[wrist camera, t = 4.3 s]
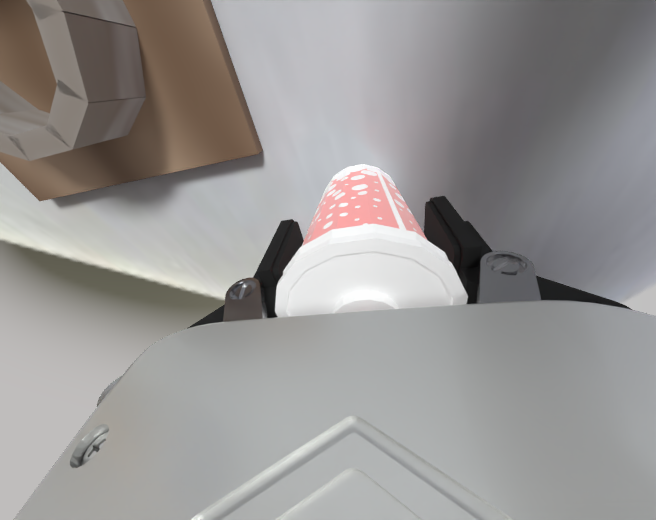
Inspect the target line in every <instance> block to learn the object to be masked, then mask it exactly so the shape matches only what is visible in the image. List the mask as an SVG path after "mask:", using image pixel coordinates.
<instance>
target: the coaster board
mask: <svg viewBox="0 0 656 520" xmlns="http://www.w3.org/2000/svg"><path fill="white" fill-rule="evenodd" d="M261 151H263V149H262V146H261V143H260V141H259V138H258V135H257V132H256V129H255V126H254V123H253V121H252V118H251V115H250V112H249V109H248V106H247V103H246V101H245V98H244V95H243V92H242V89H241V86H240V83H239V81H238V78H237V75H236V72H235V69H234V66H233V63H232V61H231V58H230V55H229V52H228V49H227V46H226V43H225V41H224V38H223V35H222V32H221V29H220V26H219V23H218V21H217V18H216V15H215V12H214V9H213V6H212V3H211V0H0V162H1V163H2V164H3V165H4V166H5V167H6V168H7V169H8V170H9V171H10V172H11V173H12V174H13V175H14V176H15V177H16V178H17V179H18V180H19V181H20V182H21V183H22V184H23V185H24V186H25V187H26V188H27V189H28V190H29V191H30V192H31V193H32V194H33V195H34V196H35V197H36V198H37V199H38V200H39V201H43V200H48V199H52V198H57V197H62V196H66V195H71V194H76V193H80V192H85V191H89V190H94V189H99V188H103V187H108V186H113V185H117V184H122V183H126V182H131V181H136V180H140V179H145V178H150V177H154V176H159V175H163V174H168V173H173V172H177V171H182V170H187V169H191V168H196V167H200V166H205V165H210V164H214V163H219V162H224V161H228V160H233V159H237V158H242V157H247V156H251V155H256V154H259V153H260V152H261Z"/></svg>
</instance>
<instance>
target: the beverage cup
mask: <svg viewBox="0 0 656 520" xmlns="http://www.w3.org/2000/svg"><path fill="white" fill-rule="evenodd" d="M467 299H468V295H467V293H466V291H465V289H464V287H463V285H462V283H461V281H460V279H459V276H458V274H457V272H456V270H455V268H454V266H453V264H452V263H451V262H450V261H449V260H448V258H447V256H446V254H445V252H444V251H442V250H441V249H439V248H438V247H436V246H435V245H434V244H432V243H431V242H429V241H428V240H427V238H426V237H425V235H424V233H423V232H422V230H421V228H420V227H419V225H418V223H417V221H416V220H415V218H414V216H413V215H412V213H411V211H410V210H409V208H408V206H407V204H406V203H405V201H404V199H403V198H402V196H401V194H400V193H399V191H398V189H397V187H396V186H395V184H394V182H393V181H392V179H391V177H390V176H389V175H387V174H386V173H385V172H383V171H382V170H381V169H379V168H378V167H374V166H369V165H364V164H361V165H356V166H351V167H347V168H345V169H344V170H342V171H341V172H339V173H338V174H336V175H335V176H334V177H333V178H332V180H331V181H330V183H329V184H328V186H327V187H326V189H325V192H324V194H323V196H322V199H321V201H320V203H319V206H318V208H317V211H316V213H315V215H314V218H313V220H312V222H311V225H310V227H309V230H308V232H307V234H306V237H305V239H304V242H303V244H302V246H301V247H300V248H299V249H298V251H297V252H296V254H295V255H294V257H293V258H292V259H291V261H290V262H289V264H288V265H287V266H286V268H285V269H284V271H283V276H282V277H281V278H280V280H279V281H278V284H277V287H276V303H275V313H276V315H277V316H278V317H289V316H303V315H317V314H331V313H345V312H359V311H373V310H387V309H402V308H416V307H431V306H446V305H462V304H467Z"/></svg>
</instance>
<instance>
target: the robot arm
mask: <svg viewBox="0 0 656 520" xmlns="http://www.w3.org/2000/svg"><path fill="white" fill-rule="evenodd" d="M424 235H425V237H426V238H427V240H428V241H429V242H431V243H432V244H434V245H435V246H436V247H438V248H439V249H441V250H442V251H444V252H445V254H446V256H447V258H448V260H449V261H450V262H451V263H452V264H453V266H454V268H455V270H456V272H457V274H458V276H459V279H460V281H461V283H462V285H463V287H464V289H465V291H466V293H467V295H468V299H467V304H462V305H446V306H431V307H416V308H402V309H387V310H373V311H359V312H345V313H331V314H317V315H303V316H289V317H278V316H277V315H276V313H275V303H276V287H277V284H278V281H279V280H280V278H281V277H282V276H283V271H284V269H285V268H286V266H287V265H288V264H289V262H290V261H291V259H292V258H293V257H294V255H295V254H296V252H297V251H298V249H299V248H300V247H301V246H302V244H303V242H304V240H303V237H302V234H301V231H300V228H299V225H298V222H294V220H293V219H291V220H285V221H281V223H280V225H279V227H278V229H277V231H276V233H275V235H274V237H273V239H272V241H271V243H270V245H269V247H268V249H267V251H266V253H265V255H264V257H263V259H262V261H261V263H260V265H259V267H258V269H257V271H256V273H255V275H254V277H253V278H246V279H242V280H240V281H238V282H236V283H235V284H233V285H232V286H231V287H230V288H229V289H228V291H227V293H226V297H225V305H223V306H222V307H220V308H218V309H217V310H215V311H214V312H212V313H211V314H209V315H207V316H206V317H204V318H203V319H201V320H200V321H198V322H196V323H195V324H193V325H192V326H190V327H189V328H187V329H184V330H181V331H179V332H176V333H174V334H171V335H169V336H167V337H165V338H162V339H161V340H159V341H157V342H155V343H154V344H152V345H151V346H149V347H148V348H147V349H146V350H145V351H144V352H143V353H142V354H141V355H140V356H139V357H138V358H137V359H136V360H135V361H134V363H133V364H132V365H131V366H130V367H129V368H128V369H127V371H126V372H125V373H124V374H123V375H122V376H121V377H119V378H118V379H116V380H115V381H114V382H112V383H111V384H110V385H109V386H108V387H107V388H106V389H105V390H104V392H103V393H102V394H101V396H100V397H99V400H98V404H97V408H96V409H95V411H94V412H93V413H92V415H91V416H90V417H89V419H88V420H87V421H86V422H85V424H84V425H83V426H82V428H81V429H80V430H79V432H78V433H77V434H76V436H75V437H74V439H73V440H72V441H71V442H70V444H69V445H68V446H67V448H66V449H65V451H64V452H63V453H62V455H61V456H60V457H59V459H58V460H57V461H56V463H55V464H54V465H53V467H52V468H51V470H50V471H49V472H48V474H47V475H46V476H45V478H44V479H43V480H42V482H41V483H40V484H39V486H38V487H37V488H36V490H35V491H34V493H33V494H32V495H31V497H30V498H29V499H28V501H27V502H26V503H25V505H24V506H23V507H22V509H21V510H20V511H19V513H18V514H17V516H16V517H15V518H14V519H13V520H656V316H654V315H650V314H646V313H643V312H639V311H635V310H632V309H630V308H629V307H627V306H625V305H623V304H620V303H618V302H615V301H612V300H609V299H606V298H603V297H600V296H597V295H594V294H591V293H588V292H585V291H581V290H578V289H575V288H572V287H569V286H566V285H563V284H560V283H557V282H554V281H551V280H547V279H544V278H541V277H538V276H536V274H535V269H534V266H533V264H532V262H531V261H529V260H528V259H527V258H526V257H524V256H522V255H519V254H516V253H513V252H507V251H494V252H493V251H492V250H491V249H490V247H489V246H488V245H487V244H486V242H485V241H484V240H483V239H482V237H481V236H480V235H479V234H478V232H477V231H476V230H475V229H474V227H473V226H472V225H471V224H470V222H468V221H463V220H462V218H461V217H460V216H459V214H458V213H457V212H456V210H455V209H454V208H453V206H452V205H451V204H450V202H449V201H448V200H447V198H446V197H445V196H440V197H434V198H431V199H430V201H429V202H426V204H425V226H424Z"/></svg>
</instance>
